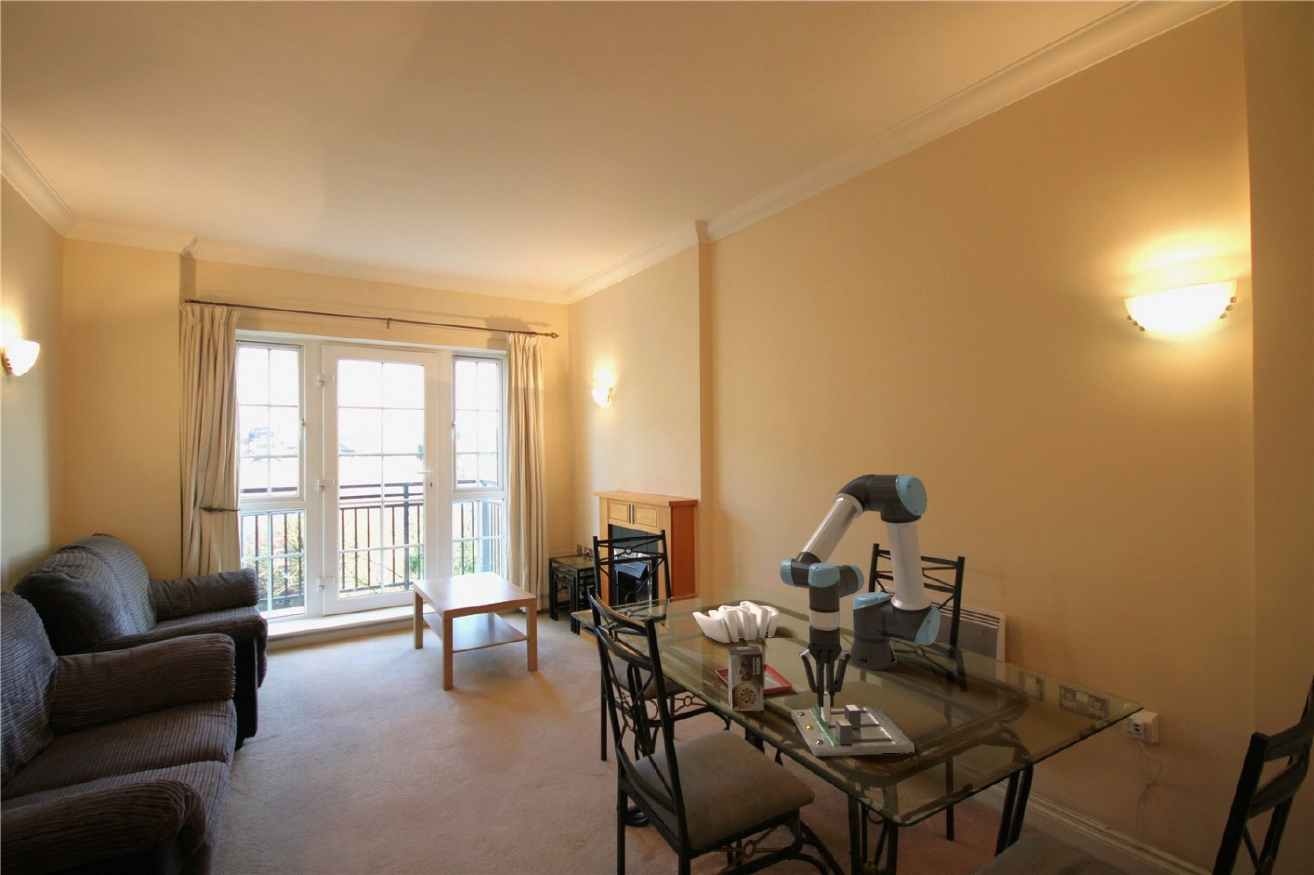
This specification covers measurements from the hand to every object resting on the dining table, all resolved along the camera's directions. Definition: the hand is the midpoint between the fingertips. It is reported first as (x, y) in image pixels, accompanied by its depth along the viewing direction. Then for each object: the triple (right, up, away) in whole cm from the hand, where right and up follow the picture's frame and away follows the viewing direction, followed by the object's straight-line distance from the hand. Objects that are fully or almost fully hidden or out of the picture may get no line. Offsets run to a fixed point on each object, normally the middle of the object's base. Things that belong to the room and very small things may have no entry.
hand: (825, 719), depth 150 cm
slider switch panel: (+6, -4, 0) cm, 7 cm away
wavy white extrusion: (-10, -6, +80) cm, 81 cm away
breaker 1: (+2, -2, +8) cm, 8 cm away
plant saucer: (-13, -5, +30) cm, 34 cm away
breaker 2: (+2, -2, -7) cm, 8 cm away
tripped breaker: (+7, -2, 0) cm, 7 cm away
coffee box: (-18, -5, +16) cm, 24 cm away
